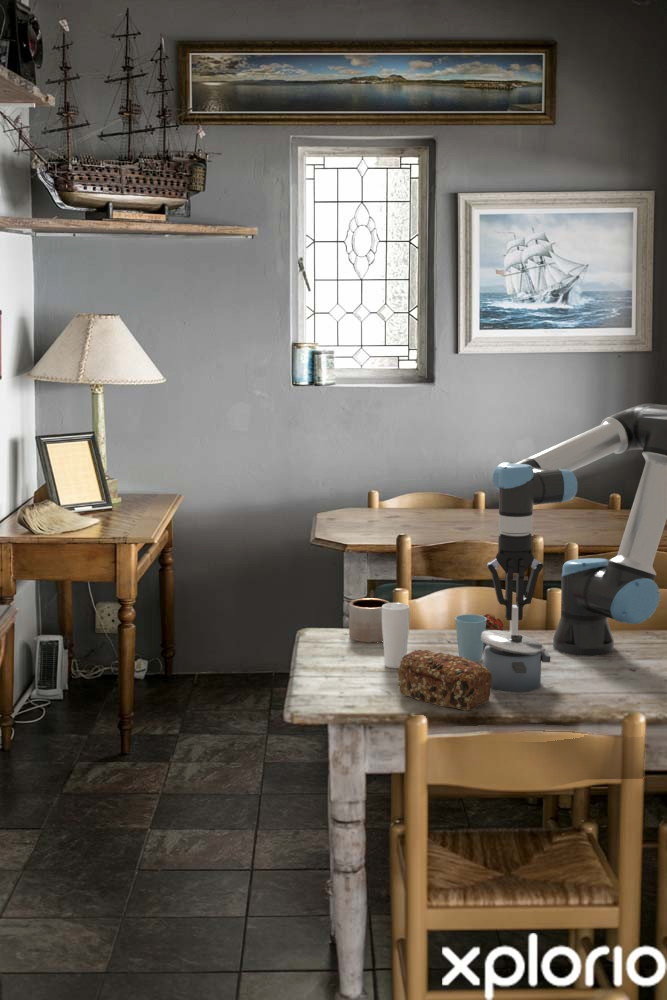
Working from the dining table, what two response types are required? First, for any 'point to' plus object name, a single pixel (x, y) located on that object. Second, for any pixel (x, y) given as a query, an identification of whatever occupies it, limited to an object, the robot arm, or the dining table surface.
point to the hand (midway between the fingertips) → (513, 633)
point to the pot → (514, 670)
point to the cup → (470, 636)
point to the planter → (366, 620)
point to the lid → (511, 642)
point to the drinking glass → (395, 633)
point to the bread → (444, 680)
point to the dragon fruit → (493, 623)
